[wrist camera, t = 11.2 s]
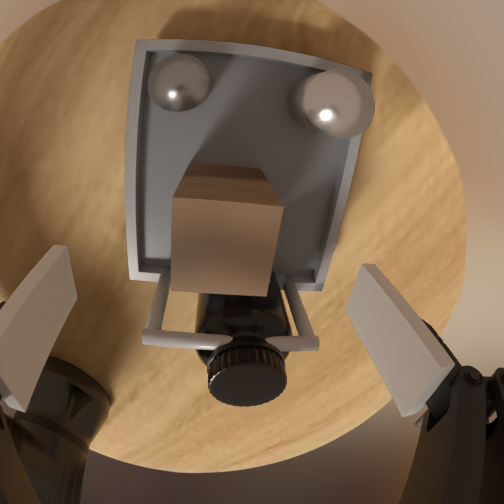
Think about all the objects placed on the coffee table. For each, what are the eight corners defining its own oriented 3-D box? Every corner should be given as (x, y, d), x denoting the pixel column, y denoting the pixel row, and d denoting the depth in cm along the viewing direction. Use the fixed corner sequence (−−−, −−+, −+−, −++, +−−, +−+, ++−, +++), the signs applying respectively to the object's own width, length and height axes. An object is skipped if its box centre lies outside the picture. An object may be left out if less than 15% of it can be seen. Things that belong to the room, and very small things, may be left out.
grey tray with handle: (139, 259, 25) (105, 342, 16) (148, 48, 17) (95, 12, 8) (311, 271, 28) (349, 351, 19) (352, 76, 19) (434, 69, 10)
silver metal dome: (155, 110, 17) (144, 111, 15) (161, 60, 16) (151, 53, 13) (208, 112, 18) (205, 113, 15) (214, 62, 16) (213, 55, 14)
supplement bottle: (261, 233, 25) (291, 334, 14) (283, 293, 28) (315, 397, 18) (186, 260, 25) (170, 369, 15) (217, 316, 29) (220, 422, 18)
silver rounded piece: (283, 124, 19) (302, 130, 14) (291, 70, 17) (313, 61, 13) (336, 134, 19) (367, 145, 15) (345, 83, 18) (379, 80, 13)
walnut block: (189, 162, 19) (172, 197, 12) (260, 168, 20) (283, 206, 13) (185, 227, 22) (171, 290, 15) (251, 233, 23) (266, 296, 16)
